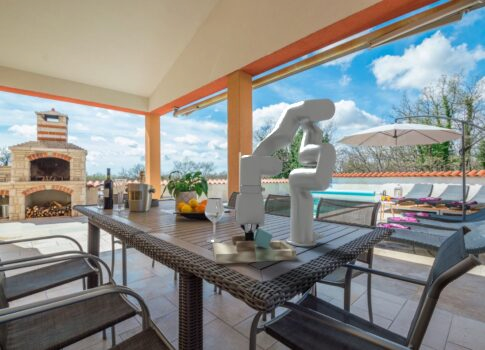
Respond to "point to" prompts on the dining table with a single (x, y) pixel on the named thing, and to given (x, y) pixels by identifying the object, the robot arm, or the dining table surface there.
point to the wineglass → (214, 214)
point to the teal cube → (262, 238)
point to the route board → (251, 251)
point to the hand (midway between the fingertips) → (249, 243)
